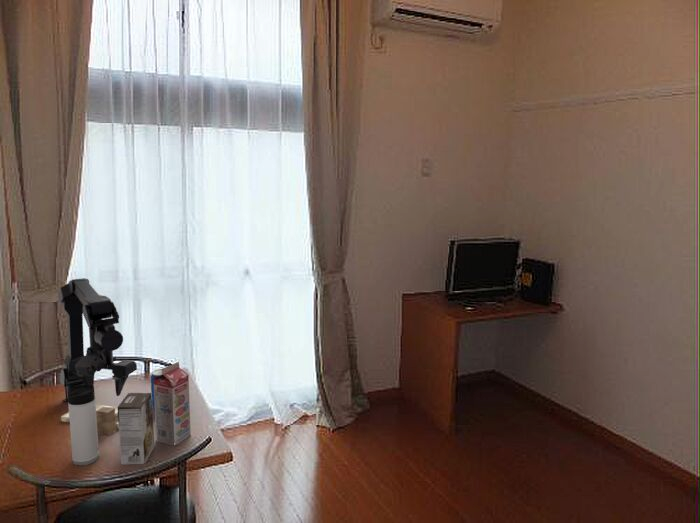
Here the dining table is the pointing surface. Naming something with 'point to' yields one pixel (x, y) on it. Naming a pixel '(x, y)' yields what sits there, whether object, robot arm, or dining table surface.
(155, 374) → the beverage can
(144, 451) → the coffee box
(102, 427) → the block
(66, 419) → the board
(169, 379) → the milk carton
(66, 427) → the dining table surface
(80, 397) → the travel mug
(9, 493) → the dining table surface
